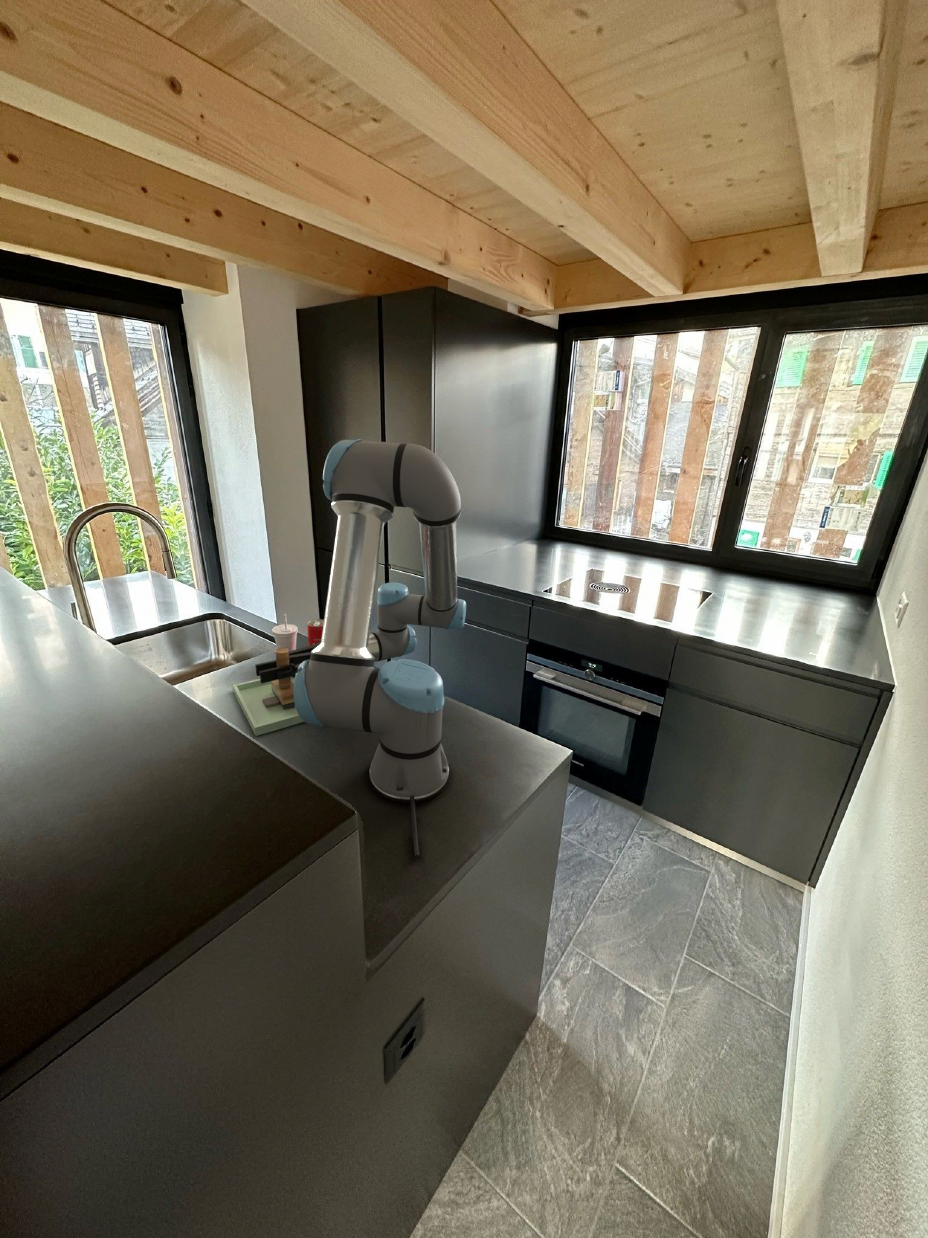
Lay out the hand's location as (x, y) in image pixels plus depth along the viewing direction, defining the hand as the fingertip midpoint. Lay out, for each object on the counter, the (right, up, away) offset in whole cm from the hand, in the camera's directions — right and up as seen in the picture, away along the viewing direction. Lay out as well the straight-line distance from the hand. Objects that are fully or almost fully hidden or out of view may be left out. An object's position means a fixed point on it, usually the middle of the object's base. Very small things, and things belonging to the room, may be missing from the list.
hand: (258, 673), depth 114 cm
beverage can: (+7, 0, +24) cm, 25 cm away
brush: (+4, -6, +6) cm, 10 cm away
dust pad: (+1, -7, +4) cm, 9 cm away
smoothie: (-2, +1, +24) cm, 24 cm away
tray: (+3, -7, +6) cm, 10 cm away
